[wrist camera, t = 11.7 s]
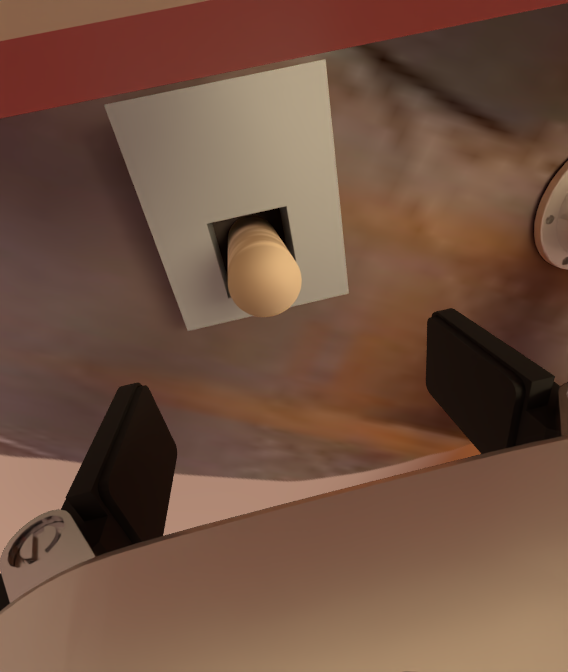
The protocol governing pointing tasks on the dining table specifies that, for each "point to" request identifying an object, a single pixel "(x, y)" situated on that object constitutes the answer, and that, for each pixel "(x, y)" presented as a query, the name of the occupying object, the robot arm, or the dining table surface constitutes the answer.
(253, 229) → the peg
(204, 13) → the small side table
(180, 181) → the socket block
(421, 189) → the dining table surface
